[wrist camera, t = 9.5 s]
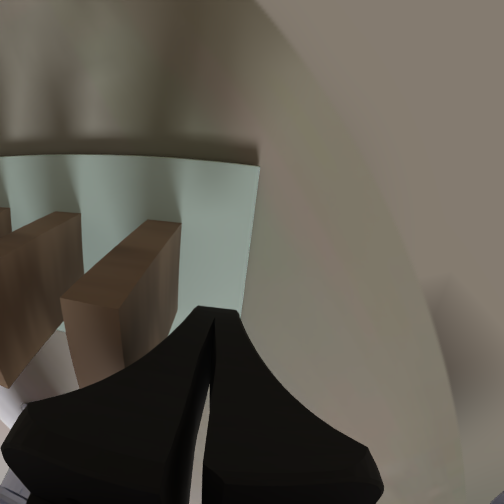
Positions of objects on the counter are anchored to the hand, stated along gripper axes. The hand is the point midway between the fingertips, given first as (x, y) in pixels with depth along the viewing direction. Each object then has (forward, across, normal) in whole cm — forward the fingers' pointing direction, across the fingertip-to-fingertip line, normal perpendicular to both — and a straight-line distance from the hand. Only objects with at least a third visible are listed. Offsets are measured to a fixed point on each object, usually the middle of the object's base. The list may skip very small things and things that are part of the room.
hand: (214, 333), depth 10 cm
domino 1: (+5, +8, 0) cm, 9 cm away
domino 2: (+5, +3, 0) cm, 6 cm away
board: (+5, +13, 0) cm, 14 cm away
